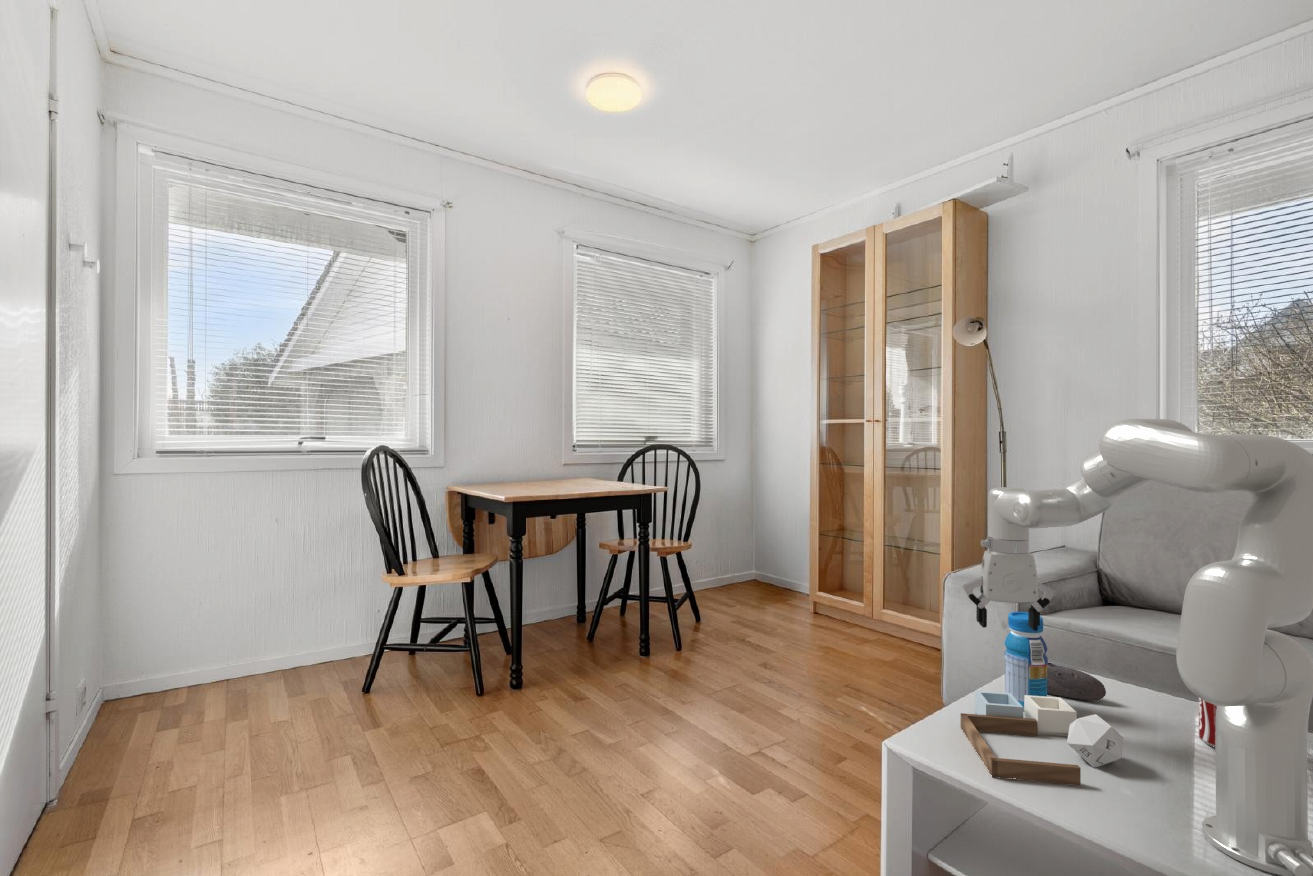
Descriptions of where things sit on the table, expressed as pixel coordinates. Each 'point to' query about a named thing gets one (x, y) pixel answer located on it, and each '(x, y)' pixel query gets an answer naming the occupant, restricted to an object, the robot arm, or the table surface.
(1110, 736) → the die
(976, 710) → the greyblue cup
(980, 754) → the walnut bay
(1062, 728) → the offwhite cup
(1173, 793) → the table surface
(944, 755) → the table surface
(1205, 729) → the soda can
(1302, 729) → the robot arm
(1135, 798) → the table surface
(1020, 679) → the beverage bottle
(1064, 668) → the perforated stone tool
